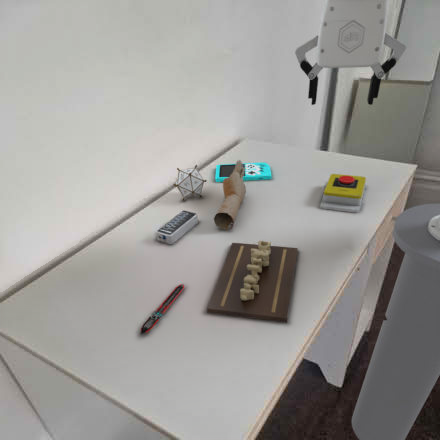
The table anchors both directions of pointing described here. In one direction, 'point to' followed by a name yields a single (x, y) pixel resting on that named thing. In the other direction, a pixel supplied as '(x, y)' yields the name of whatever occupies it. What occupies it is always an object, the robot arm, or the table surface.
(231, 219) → the mannequin hand
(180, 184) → the game die
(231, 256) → the board
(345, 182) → the emergency button
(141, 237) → the table surface
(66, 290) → the table surface
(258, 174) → the handheld game console
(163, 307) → the pen
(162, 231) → the multiport hub
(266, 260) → the decorative script
